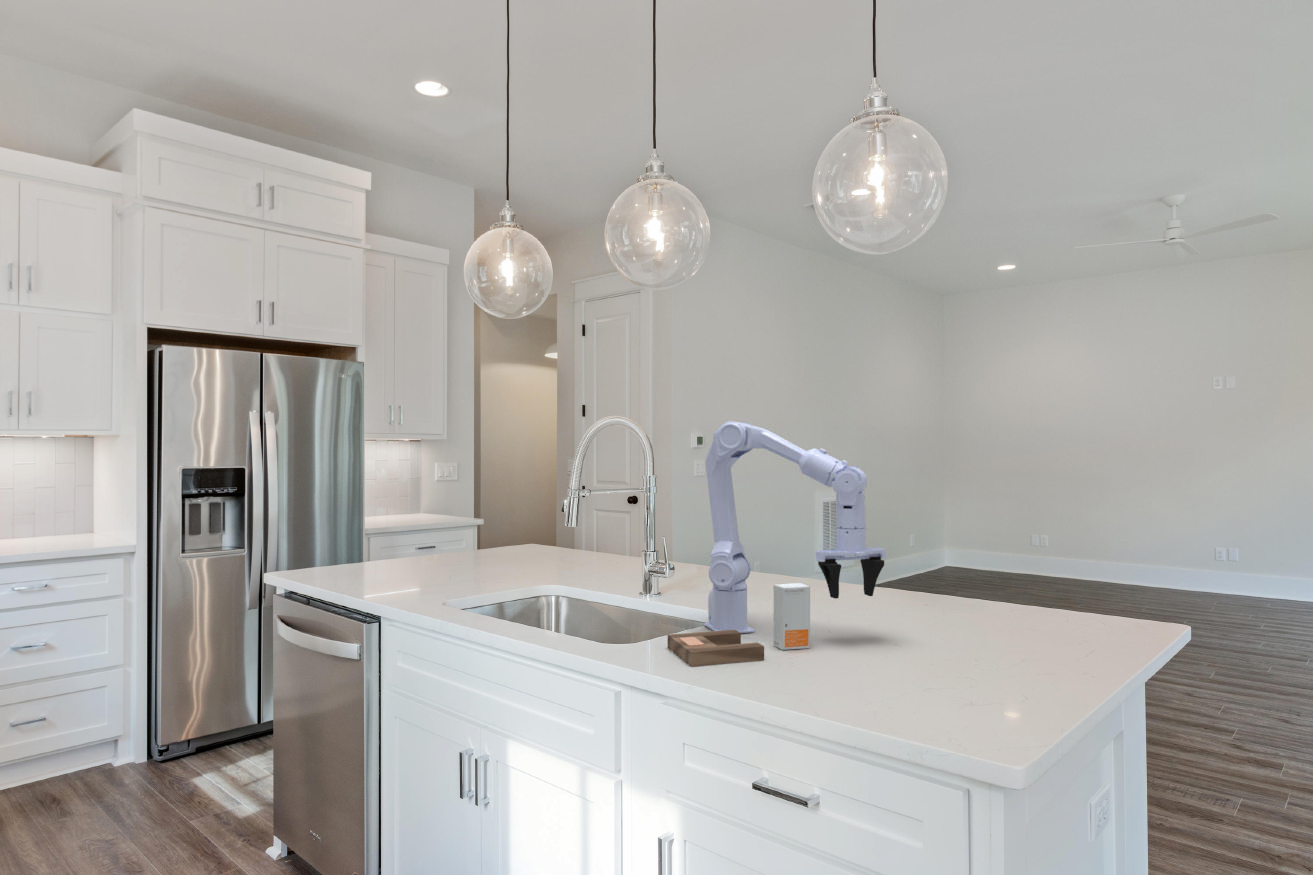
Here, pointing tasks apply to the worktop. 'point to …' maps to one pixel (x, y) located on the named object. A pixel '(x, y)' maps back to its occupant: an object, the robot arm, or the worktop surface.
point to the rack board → (714, 648)
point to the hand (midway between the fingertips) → (851, 596)
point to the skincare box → (792, 616)
